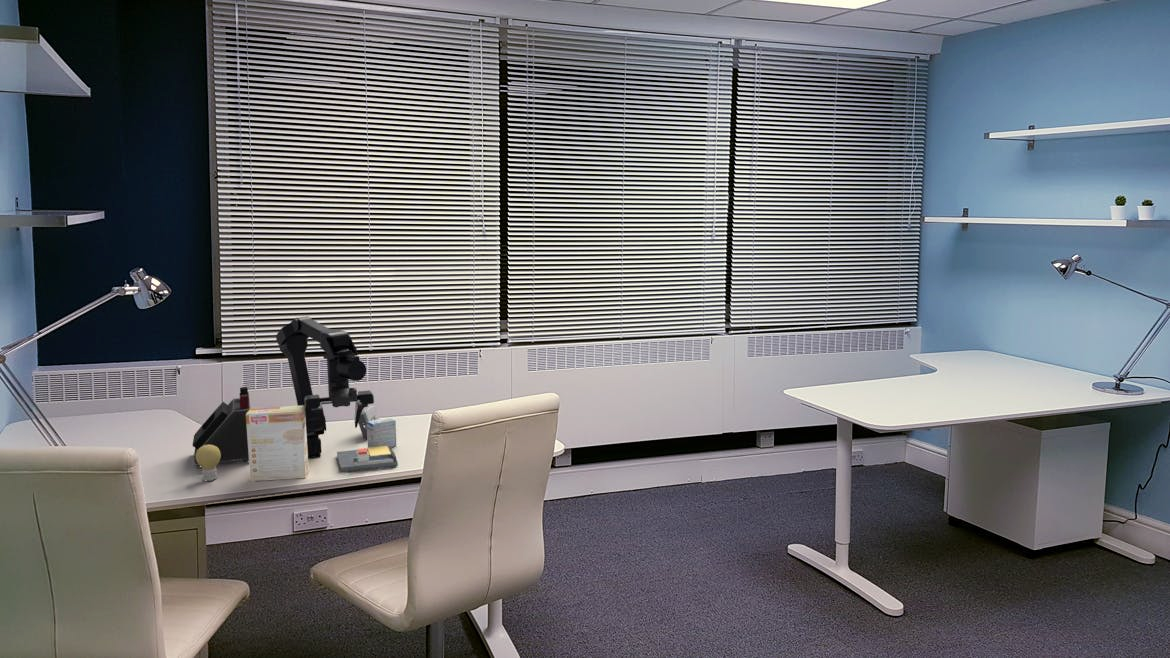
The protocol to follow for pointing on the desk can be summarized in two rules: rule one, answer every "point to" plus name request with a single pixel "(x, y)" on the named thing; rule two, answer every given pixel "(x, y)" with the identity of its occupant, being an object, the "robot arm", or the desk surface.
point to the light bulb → (208, 461)
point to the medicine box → (381, 432)
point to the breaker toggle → (362, 455)
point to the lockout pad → (378, 450)
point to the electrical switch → (367, 419)
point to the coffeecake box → (277, 443)
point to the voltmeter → (227, 429)
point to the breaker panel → (375, 462)
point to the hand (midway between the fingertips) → (340, 428)
